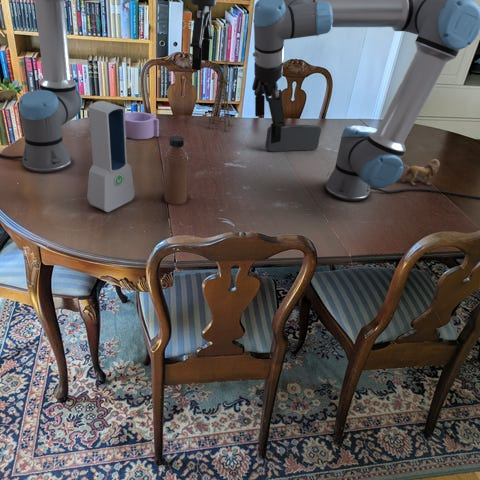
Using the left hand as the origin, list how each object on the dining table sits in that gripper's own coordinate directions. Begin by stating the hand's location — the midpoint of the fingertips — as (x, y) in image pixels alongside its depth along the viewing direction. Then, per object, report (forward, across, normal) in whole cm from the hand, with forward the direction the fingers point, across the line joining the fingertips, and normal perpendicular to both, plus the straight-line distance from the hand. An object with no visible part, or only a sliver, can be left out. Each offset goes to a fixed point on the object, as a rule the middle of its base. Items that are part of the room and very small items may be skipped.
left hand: (200, 65), depth 149 cm
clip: (+36, +24, +31) cm, 53 cm away
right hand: (+12, -18, -24) cm, 32 cm away
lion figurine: (+36, +14, -82) cm, 90 cm away
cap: (+16, -25, +1) cm, 30 cm away
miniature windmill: (+36, +46, -1) cm, 58 cm away
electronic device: (+36, -33, +19) cm, 52 cm away
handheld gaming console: (+36, +30, -34) cm, 57 cm away
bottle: (+36, -25, +1) cm, 44 cm away
